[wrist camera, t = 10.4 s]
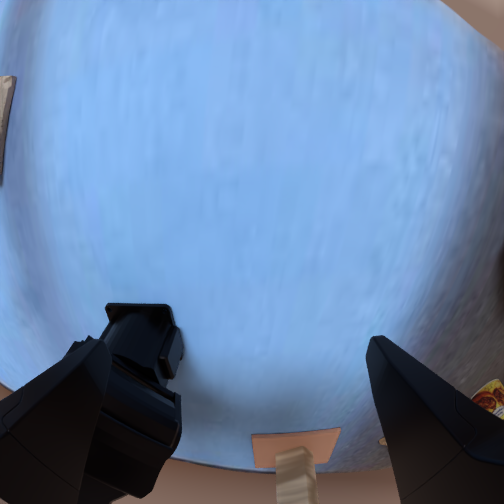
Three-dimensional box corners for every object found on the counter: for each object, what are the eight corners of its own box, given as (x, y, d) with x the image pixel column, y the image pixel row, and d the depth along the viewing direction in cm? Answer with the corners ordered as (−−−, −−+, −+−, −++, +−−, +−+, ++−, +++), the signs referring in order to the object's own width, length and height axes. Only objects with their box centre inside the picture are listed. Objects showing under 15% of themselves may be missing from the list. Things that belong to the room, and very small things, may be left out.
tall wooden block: (275, 453, 34) (277, 516, 24) (302, 445, 33) (309, 511, 23) (286, 459, 35) (290, 519, 25) (312, 452, 34) (320, 513, 24)
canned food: (481, 383, 31) (510, 435, 20) (505, 375, 31) (533, 419, 20) (459, 412, 34) (481, 461, 23) (484, 403, 34) (507, 446, 23)
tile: (255, 465, 37) (255, 467, 37) (251, 434, 32) (251, 438, 32) (327, 459, 37) (327, 462, 36) (340, 427, 32) (340, 430, 31)
